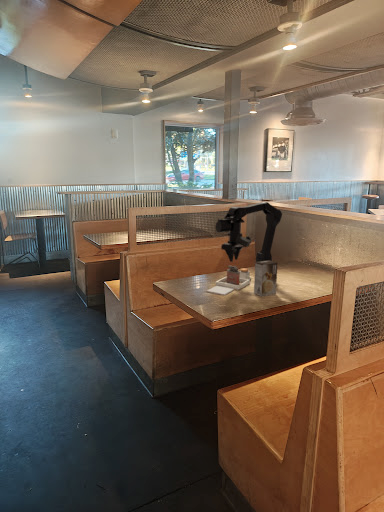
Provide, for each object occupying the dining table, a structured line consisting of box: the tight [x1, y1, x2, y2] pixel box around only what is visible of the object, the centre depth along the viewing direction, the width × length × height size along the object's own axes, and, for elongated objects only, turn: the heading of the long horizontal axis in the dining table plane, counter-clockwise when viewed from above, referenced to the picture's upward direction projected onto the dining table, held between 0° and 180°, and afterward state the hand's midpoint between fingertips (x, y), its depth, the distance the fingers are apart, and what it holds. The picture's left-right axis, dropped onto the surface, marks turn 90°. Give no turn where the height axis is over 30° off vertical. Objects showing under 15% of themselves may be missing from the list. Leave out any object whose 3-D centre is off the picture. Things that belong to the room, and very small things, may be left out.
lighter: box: [225, 265, 241, 285], centre depth 193 cm, size 8×3×10 cm, turn 47°
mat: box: [206, 285, 235, 296], centre depth 182 cm, size 10×10×1 cm
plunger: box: [240, 267, 249, 273], centre depth 202 cm, size 4×4×4 cm
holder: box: [215, 270, 252, 291], centre depth 197 cm, size 14×22×4 cm, turn 147°
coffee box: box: [253, 260, 278, 297], centre depth 177 cm, size 9×6×16 cm
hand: (233, 260), depth 191 cm, fingers open, 5 cm apart
